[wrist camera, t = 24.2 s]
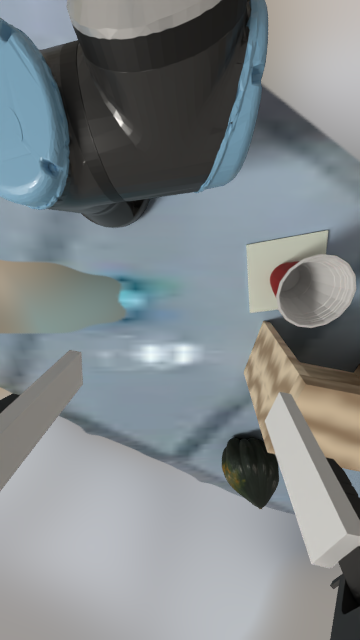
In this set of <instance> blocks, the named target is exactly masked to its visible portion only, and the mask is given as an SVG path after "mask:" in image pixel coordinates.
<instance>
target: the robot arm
mask: <svg viewBox="0 0 360 640" xmlns="http://www.w3.org/2000/svg"><path fill="white" fill-rule="evenodd" d="M67 10H68V13H69V16H70V20H71V22H72V25H73V28H74V30H75V33H76V35H77V38H78V40H77V41H73V42H70V43H66V44H62V45H58V46H54V47H51V48H47V49H43V50H39V49H38V48H37V47H36V46H35V45H34V43H33V42H32V41H31V39H30V38H29V37H28V36H27V35H26V34H25V33H23V32H22V31H21V30H19V29H17V28H15V27H14V26H12V25H10V24H8V23H7V22H6V21H4V20H3V19H1V18H0V196H1V197H2V198H4V199H6V200H8V201H11V202H14V203H17V204H22V205H25V206H28V207H30V208H32V209H38V210H42V209H52V210H59V211H67V212H75V213H81V214H82V215H83V216H85V217H86V218H87V219H89V220H90V221H92V222H94V223H96V224H98V225H101V226H104V227H112V228H118V227H124V226H127V225H130V224H131V223H133V222H135V221H136V220H137V219H138V218H139V217H140V216H141V215H142V214H143V212H144V211H145V209H146V207H147V205H148V202H149V199H150V198H155V197H162V196H169V195H176V194H183V193H190V192H194V193H199V192H202V191H203V190H205V189H209V188H214V187H219V186H223V185H225V184H227V183H229V182H230V181H231V180H233V179H234V178H235V177H236V175H237V174H238V172H239V171H240V169H241V167H242V165H243V163H244V161H245V158H246V155H247V153H248V150H249V147H250V143H251V140H252V136H253V132H254V128H255V124H256V119H257V115H258V110H259V105H260V99H261V93H262V86H261V78H262V75H263V71H264V67H265V62H266V54H267V44H268V12H267V6H266V2H265V0H67ZM82 384H83V378H82V359H81V352H77V351H72V350H69V351H68V352H67V353H66V354H65V355H64V356H63V357H62V358H61V359H59V360H58V361H57V362H56V363H55V364H54V365H53V366H52V367H51V368H50V369H48V370H47V371H46V372H45V373H44V374H43V375H42V376H41V377H40V378H39V379H38V380H36V381H35V382H34V383H33V384H32V385H31V386H30V387H29V388H28V389H27V390H25V391H24V392H23V393H22V394H21V395H17V394H11V395H9V396H7V397H5V398H3V399H2V400H0V491H1V490H2V488H3V487H4V486H5V484H6V483H7V482H8V481H9V479H10V478H11V477H12V475H13V474H14V473H15V472H16V470H17V469H18V468H19V466H20V465H21V464H22V462H23V461H24V460H25V458H26V457H27V456H28V455H29V453H30V452H31V451H32V449H33V448H34V447H35V445H36V444H37V443H38V442H39V440H40V439H41V438H42V436H43V435H44V434H45V433H46V431H47V430H48V428H49V427H50V426H51V425H52V423H53V422H54V421H55V420H56V418H57V417H58V416H59V414H60V413H61V412H62V410H63V409H64V408H65V407H66V405H67V404H68V403H69V401H70V400H71V399H72V397H73V396H74V395H75V394H76V392H77V391H78V390H79V388H80V387H81V386H82ZM265 423H266V427H267V430H268V433H269V436H270V439H271V442H272V445H273V448H274V451H275V454H276V457H277V460H278V463H279V466H280V469H281V472H282V475H283V478H284V481H285V484H286V487H287V490H288V493H289V496H290V500H291V503H292V506H293V509H294V512H295V515H296V517H297V521H298V524H299V527H300V530H301V533H302V536H303V539H304V542H305V545H306V548H307V551H308V554H309V557H310V560H311V563H312V564H313V565H318V566H322V567H327V568H332V567H333V566H334V565H336V564H337V563H338V562H339V565H340V567H341V570H342V572H343V574H342V575H340V576H339V577H337V578H336V579H335V580H334V581H332V584H331V585H330V586H331V587H332V588H333V589H335V588H336V587H337V586H339V588H338V594H337V601H336V607H335V613H334V619H333V626H332V632H331V639H330V640H360V498H359V497H358V494H357V492H356V490H355V489H354V487H353V486H352V484H351V482H350V480H349V479H348V477H347V475H346V473H345V472H344V470H343V469H342V468H341V467H340V466H339V465H338V464H337V462H336V461H335V460H334V459H331V458H327V457H325V456H324V454H323V452H322V450H321V448H320V446H319V445H318V443H317V441H316V439H315V437H314V435H313V433H312V432H311V430H310V428H309V426H308V424H307V422H306V421H305V419H304V417H303V415H302V413H301V411H300V410H299V408H298V406H297V404H296V402H295V400H294V398H293V397H292V395H291V394H288V393H283V392H279V393H278V395H277V397H276V399H275V401H274V403H273V405H272V407H271V409H270V411H269V413H268V415H267V417H266V419H265Z"/></svg>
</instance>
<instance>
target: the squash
mask: <svg viewBox="0 0 360 640" xmlns="http://www.w3.org/2000/svg"><path fill="white" fill-rule="evenodd" d="M222 469H223V472H224V475H225V478H226V480H227V482H228V483H229V484H230V485H231V486H232V488H233V489H234V490H235V491H237V492H238V493H239V494H240V495H242V496H243V497H244V498H246V499H247V500H248V501H249V502H251V503H252V504H253V505H255V506H257V507H258V508H259V509H262V508H263V507H264V506H265V505H266V504H267V503H268V501H269V500H270V498H271V496H272V495H273V493H274V492H275V490H276V488H277V485H278V482H279V471H278V462H277V459H276V457H275V455H274V454H273V453H268V452H267V449H266V446H265V443H264V441H262V440H257V439H255V438H249V439H248V440H247V439H241V441H240V440H239V439H237V438H232V439H230V440H229V441H228V444H227V447H226V448H225V449H224V451H223V455H222Z"/></svg>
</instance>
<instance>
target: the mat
mask: <svg viewBox="0 0 360 640" xmlns="http://www.w3.org/2000/svg"><path fill="white" fill-rule="evenodd" d="M327 238H328V230H326V231H320V232H314V233H309V234H303V235H298V236H292V237H287V238H281V239H276V240H270V241H265V242H259V243H254V244H248V245H246V247H247V267H248V287H249V307H250V313H254V312H261V311H269V310H277V309H278V304H277V299H276V297H275V295H274V293H273V291H272V287H271V285H270V276H271V273H272V272H273V270H274V269H275V268H276V267H277V266H279V265H281V264H283V263H287V262H296V261H301V260H303V259H305V258H309V257H312V256H315V255H319V254H324V255H326V248H327Z"/></svg>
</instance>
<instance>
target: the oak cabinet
mask: <svg viewBox="0 0 360 640" xmlns="http://www.w3.org/2000/svg"><path fill="white" fill-rule="evenodd" d="M244 375H245V378H246V382H247V385H248V388H249V392H250V395H251V399H252V402H253V405H254V409H255V412H256V415H257V419H258V422H259V426H260V429H261V432H262V436H263V439H264V443H265V446H266V449H267V452H268V453H273V454H275V451H274V448H273V445H272V442H271V439H270V436H269V433H268V430H267V427H266V423H265V419H266V417H267V415H268V413H269V411H270V409H271V407H272V405H273V403H274V401H275V399H276V397H277V395H278V393H279V392H283V393H288V394H291V395H292V397H293V398H294V400H295V402H296V404H297V406H298V408H299V410H300V411H301V413H302V415H303V417H304V419H305V421H306V422H307V424H308V426H309V428H310V430H311V432H312V433H313V435H314V437H315V439H316V441H317V443H318V445H319V446H320V448H321V450H322V452H323V454H324V456H325V457H327V458H331V459H334V460H335V461H336V462H337V464H338V465H339V466H340V467H341V468H345V469H350V470H355V471H360V364H359V366H358V367H357V369H356V370H355V372H354V373H352V372H347V371H342V370H337V369H332V368H327V367H322V366H317V365H312V364H307V363H301V362H299V361H298V360H297V358H296V357H295V355H294V354H293V353H292V351H291V350H290V349H289V347H288V346H287V345H286V343H285V342H284V341H283V339H282V338H281V336H280V335H279V334H278V332H277V331H276V330H275V328H274V327H273V326H272V324H271V323H270V322H266V321H263V323H262V326H261V328H260V331H259V334H258V336H257V339H256V342H255V344H254V347H253V349H252V352H251V355H250V357H249V360H248V363H247V365H246V368H245V370H244Z"/></svg>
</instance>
